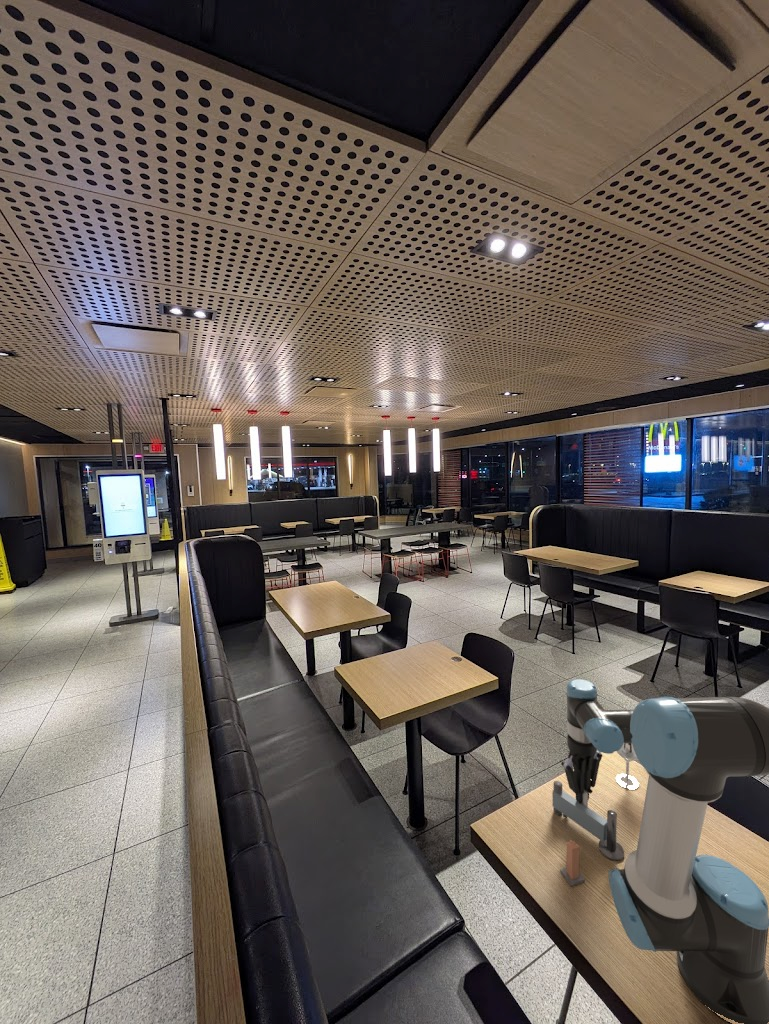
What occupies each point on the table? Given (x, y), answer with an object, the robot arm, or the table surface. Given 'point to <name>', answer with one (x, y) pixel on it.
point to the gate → (578, 812)
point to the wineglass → (627, 767)
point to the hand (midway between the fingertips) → (582, 810)
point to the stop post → (572, 865)
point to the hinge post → (611, 839)
